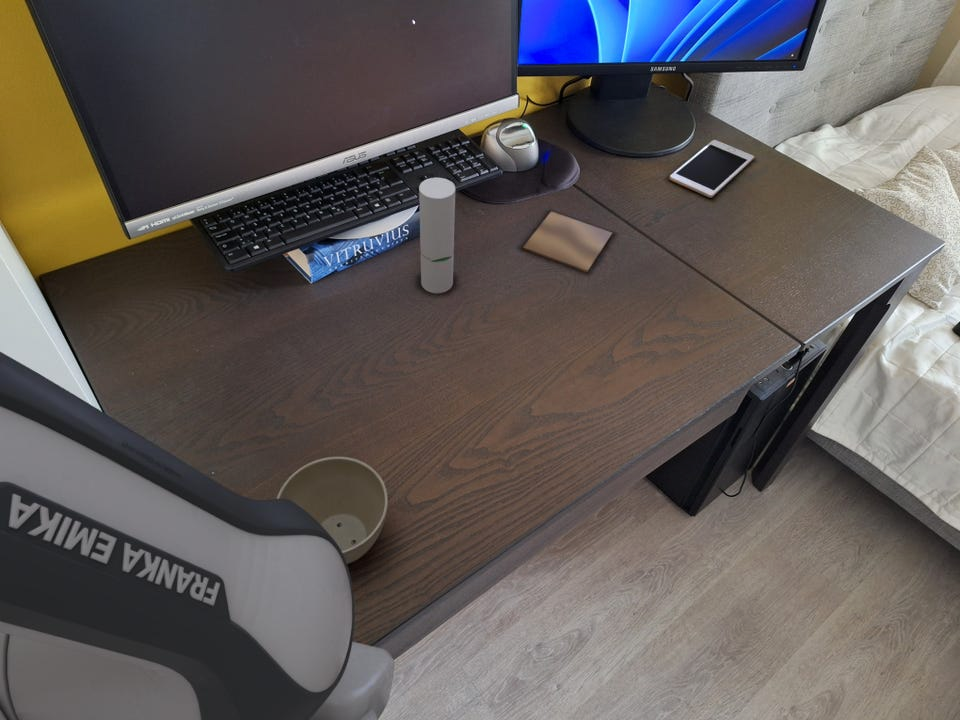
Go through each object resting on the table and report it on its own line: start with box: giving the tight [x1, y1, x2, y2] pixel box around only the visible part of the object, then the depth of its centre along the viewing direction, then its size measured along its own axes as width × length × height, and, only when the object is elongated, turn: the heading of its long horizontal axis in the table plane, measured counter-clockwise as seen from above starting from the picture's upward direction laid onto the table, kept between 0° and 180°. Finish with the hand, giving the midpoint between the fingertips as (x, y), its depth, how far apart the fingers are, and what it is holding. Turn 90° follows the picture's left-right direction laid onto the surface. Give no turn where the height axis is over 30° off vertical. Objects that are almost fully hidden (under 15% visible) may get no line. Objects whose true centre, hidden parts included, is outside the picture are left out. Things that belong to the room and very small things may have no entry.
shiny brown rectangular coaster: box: [522, 211, 613, 274], centre depth 98 cm, size 10×10×1 cm
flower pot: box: [276, 456, 389, 565], centre depth 63 cm, size 10×10×7 cm
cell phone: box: [669, 139, 755, 199], centre depth 112 cm, size 8×16×1 cm, turn 140°
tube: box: [418, 177, 456, 294], centre depth 85 cm, size 4×4×15 cm
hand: (285, 613), depth 52 cm, fingers closed
